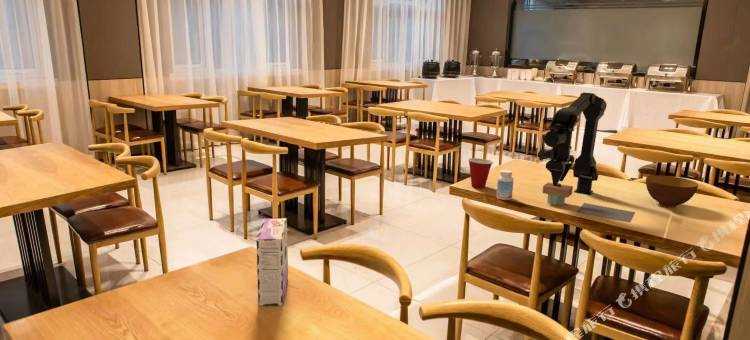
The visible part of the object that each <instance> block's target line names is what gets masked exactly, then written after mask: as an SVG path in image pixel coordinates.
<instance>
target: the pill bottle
mask: <svg viewBox="0 0 750 340" xmlns="http://www.w3.org/2000/svg"><path fill="white" fill-rule="evenodd" d="M499 175H500V176H498V178H497V186H496V198H497V199H498V200H503V201H510V200H513V190H514V177H513V171H512V170H509V169H501V170H500V174H499Z"/></svg>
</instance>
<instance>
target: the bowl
mask: <svg viewBox="0 0 750 340" xmlns="http://www.w3.org/2000/svg"><path fill="white" fill-rule="evenodd" d="M645 186H646V190H647V192H648V194H649V195H650V197H651V198H652V199H653V200H655V201H656V202H657V203H658V205H659V206H661V207H663V208H669V209H674V208H677V206H680V205H683V204H685V203H688V201H690V200H691V199H692V198H693V197H694V196H695V194H696V192H697V190H698V188H699V183H697V182H696V181H694V180H691V179H687V178H682V177H678V176H671V175H662V174H661V175H657V174H656V175H655V174H654V175H653V174H652V175H648V176H646V178H645Z"/></svg>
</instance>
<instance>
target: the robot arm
mask: <svg viewBox="0 0 750 340" xmlns="http://www.w3.org/2000/svg"><path fill="white" fill-rule="evenodd" d="M607 105H608V104H607V101H605V99H604V98H602V97H599V96H598V95H596V93H593V92H581V93H580V95H579V96H578V97H577V98H576V99H575V100H574V101H573V102H572V103H571V104H569V106H565V107H561V108H560V109H558V110H557V111H556V112H555V114H554V116H553V118H552V120H551V123H550V124H549V131H547V132H546V133H544V136H543V141H544V144H545V146H548V147H549V149H544V148H543V149H540V150H539V151H538V152H537V155H536V157H537V158H538V160H539V161H543V160H547V159H550V160H548V161H547V162H546V163H545V169H546V170H547V171H549V173H550V175H551V181H552V183H553V186H557V184H558V183H560V182H563V181H564V180H565V178H566V176H568V175H567V174H568V173H569V171H570V170H571V168H572V170H573V171H572V174H573V176H572V177H573V178H577V181H576V183H577V184H576V189H575V190H573V193H574V194H575V193H577V194H582V195H588V196H591V195H592V194H593V193H594V190H592V186H593V182H594V181H595V182H596V181H598V179H599V171H598V169H597V161H596V159H595V156H594V150H595V144H596V138H597V133H598V127H599V126H598V125H599V121H600V119H601V118H602V117H603V116H604V115H605V111H606V109H607ZM581 114H583V117H584V118H585V123H584V130H583V136H582V143H581V150H580V155H579V156H578V157H577V158H576V157H575V156H574V155H572V154H571V150H572V149H573V147H572V139H573V138H572V137H573V132H575V126H576V125H577V123H578V121H579V115H581Z"/></svg>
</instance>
